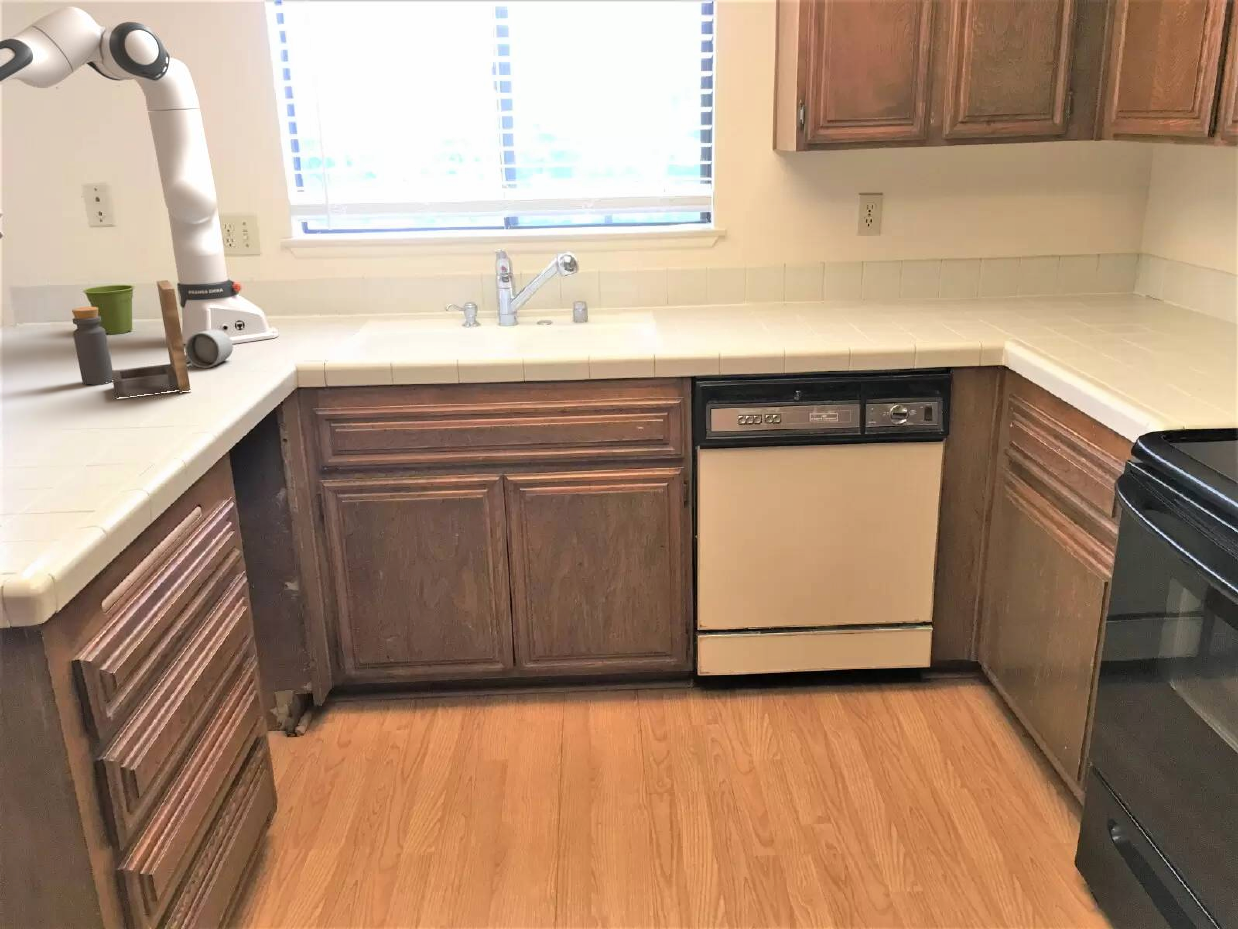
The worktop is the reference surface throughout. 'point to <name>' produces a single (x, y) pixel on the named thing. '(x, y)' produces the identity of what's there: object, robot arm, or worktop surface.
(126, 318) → the plant pot
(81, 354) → the bottle
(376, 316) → the worktop surface
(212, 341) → the ceramic mug
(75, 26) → the robot arm
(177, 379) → the wooden stand
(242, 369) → the worktop surface
